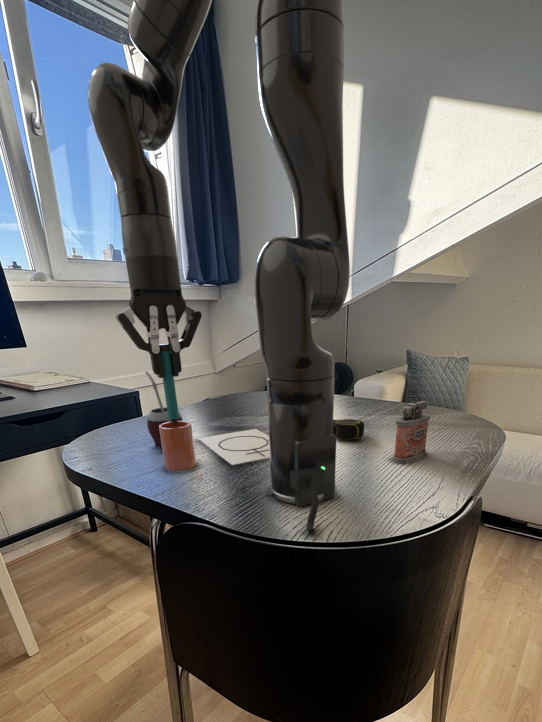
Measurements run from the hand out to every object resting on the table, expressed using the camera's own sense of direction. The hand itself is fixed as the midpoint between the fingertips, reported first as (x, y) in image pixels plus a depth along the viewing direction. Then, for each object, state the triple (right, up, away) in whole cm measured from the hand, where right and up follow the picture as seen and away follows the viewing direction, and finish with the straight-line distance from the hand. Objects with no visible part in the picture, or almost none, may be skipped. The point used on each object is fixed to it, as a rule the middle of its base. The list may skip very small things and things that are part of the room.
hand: (168, 376), depth 68 cm
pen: (0, -7, +3) cm, 8 cm away
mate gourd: (-5, -10, +18) cm, 21 cm away
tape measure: (+33, -7, +21) cm, 40 cm away
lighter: (+43, -13, +8) cm, 45 cm away
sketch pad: (+11, -10, +17) cm, 23 cm away
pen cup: (+1, -15, +7) cm, 16 cm away
